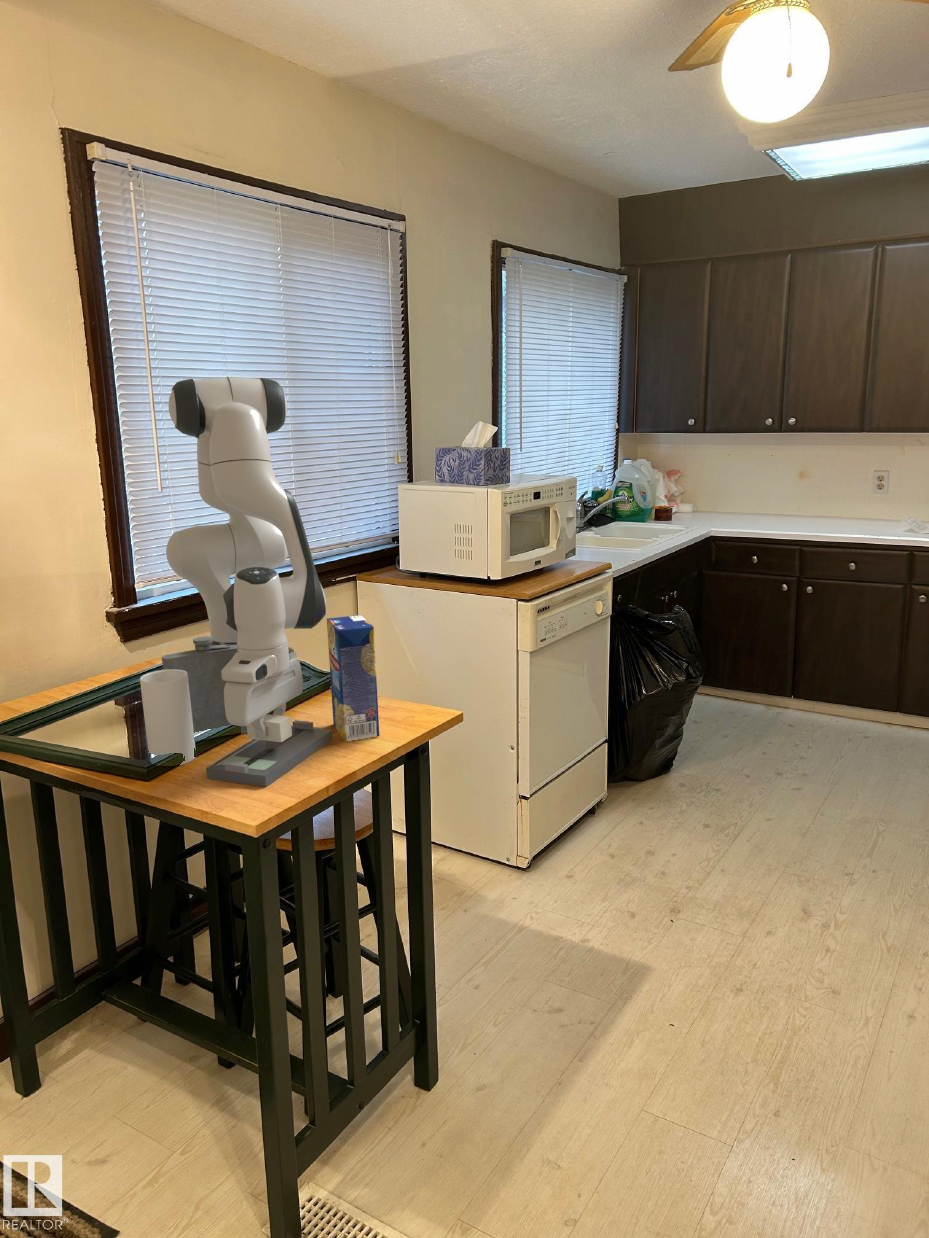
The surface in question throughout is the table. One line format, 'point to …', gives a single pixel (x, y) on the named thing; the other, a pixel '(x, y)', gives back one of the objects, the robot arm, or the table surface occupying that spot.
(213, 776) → the fader console
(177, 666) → the hip flask
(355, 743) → the table surface
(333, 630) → the beverage box
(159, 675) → the cup
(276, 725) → the fader knob
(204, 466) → the robot arm
